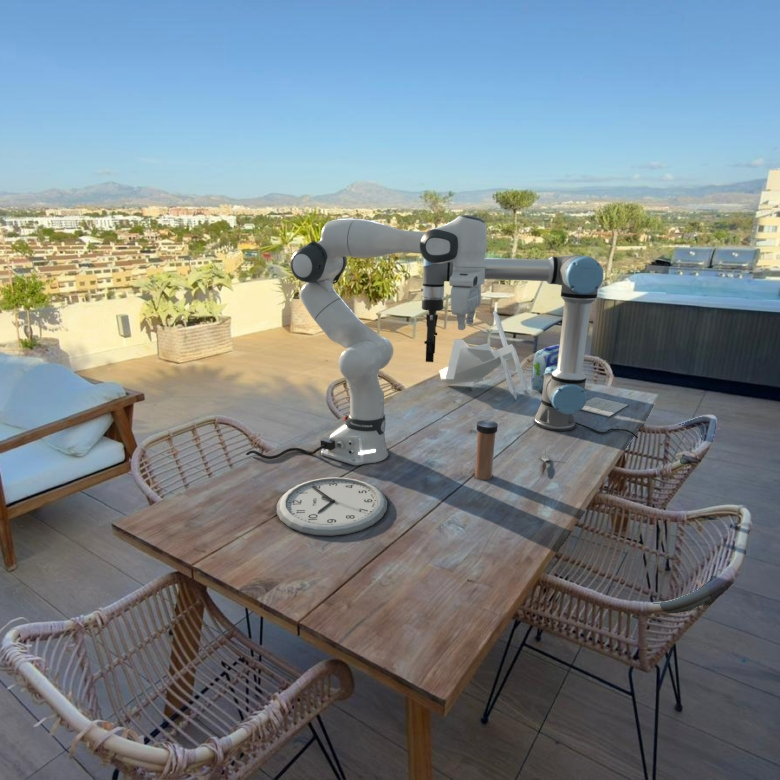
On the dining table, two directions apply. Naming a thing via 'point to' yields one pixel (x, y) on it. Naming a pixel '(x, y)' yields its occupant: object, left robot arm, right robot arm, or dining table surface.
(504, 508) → the dining table surface
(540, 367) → the lunch box
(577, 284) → the right robot arm
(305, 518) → the wall clock
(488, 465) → the tan rounded cylinder
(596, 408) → the invitation card
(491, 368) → the white plastic object
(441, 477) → the dining table surface
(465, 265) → the left robot arm
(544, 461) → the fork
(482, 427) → the lid
